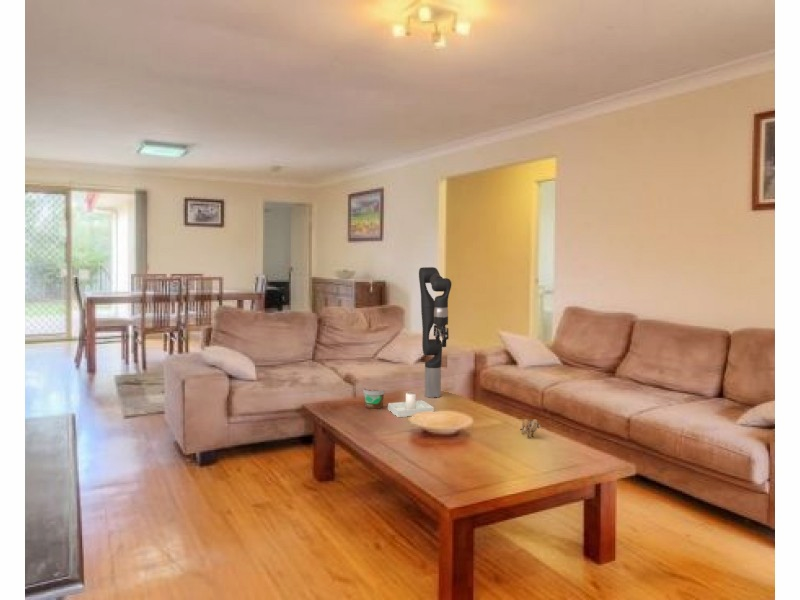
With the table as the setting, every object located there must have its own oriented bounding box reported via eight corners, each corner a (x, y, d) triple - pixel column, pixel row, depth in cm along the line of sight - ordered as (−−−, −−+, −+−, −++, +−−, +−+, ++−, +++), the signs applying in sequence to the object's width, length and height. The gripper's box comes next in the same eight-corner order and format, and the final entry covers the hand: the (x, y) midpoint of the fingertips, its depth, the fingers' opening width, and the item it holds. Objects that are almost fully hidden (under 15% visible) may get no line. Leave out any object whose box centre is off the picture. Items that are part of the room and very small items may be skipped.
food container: (359, 408, 295) (359, 390, 294) (364, 405, 301) (364, 387, 300) (380, 411, 290) (380, 392, 290) (385, 408, 296) (385, 389, 295)
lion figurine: (541, 440, 246) (542, 420, 245) (531, 441, 244) (531, 421, 243) (525, 430, 260) (525, 411, 259) (514, 431, 258) (515, 412, 257)
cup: (404, 409, 291) (404, 392, 290) (413, 408, 293) (413, 391, 292) (407, 412, 286) (407, 395, 285) (417, 411, 288) (417, 394, 287)
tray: (388, 409, 293) (388, 403, 293) (422, 406, 300) (422, 400, 300) (397, 417, 279) (398, 411, 278) (433, 414, 285) (434, 407, 285)
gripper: (429, 314, 302) (429, 344, 303) (440, 317, 288) (439, 348, 290) (442, 314, 304) (441, 343, 306) (453, 316, 291) (452, 347, 292)
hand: (440, 345), depth 298 cm, fingers open, 8 cm apart
